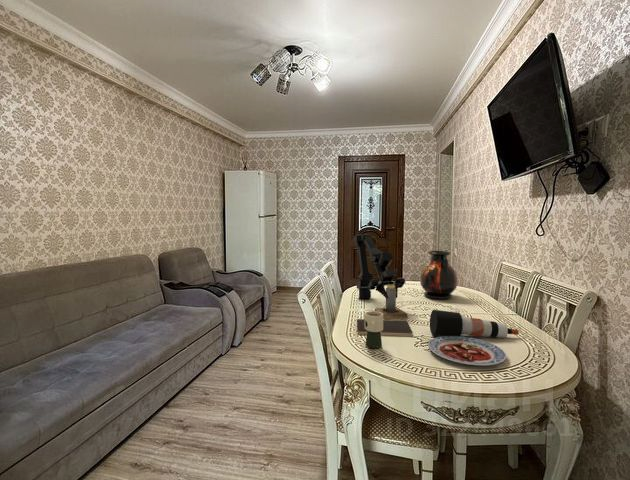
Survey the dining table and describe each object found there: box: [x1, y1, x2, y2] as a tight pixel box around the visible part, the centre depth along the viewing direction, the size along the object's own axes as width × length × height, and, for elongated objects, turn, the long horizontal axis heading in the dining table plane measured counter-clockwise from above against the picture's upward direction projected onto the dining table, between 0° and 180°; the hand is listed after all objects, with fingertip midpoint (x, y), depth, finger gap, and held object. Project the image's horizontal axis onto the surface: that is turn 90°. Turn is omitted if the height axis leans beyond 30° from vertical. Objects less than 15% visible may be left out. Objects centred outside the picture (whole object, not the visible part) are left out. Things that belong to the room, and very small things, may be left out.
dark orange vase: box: [419, 250, 459, 301], centre depth 203 cm, size 22×22×28 cm
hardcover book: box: [356, 318, 414, 337], centre depth 148 cm, size 16×23×2 cm
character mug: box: [364, 310, 384, 349], centre depth 128 cm, size 11×7×13 cm, turn 168°
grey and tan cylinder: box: [385, 284, 397, 313], centre depth 168 cm, size 5×5×13 cm
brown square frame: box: [374, 306, 408, 320], centre depth 169 cm, size 12×12×2 cm
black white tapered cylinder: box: [429, 309, 519, 339], centre depth 138 cm, size 10×34×10 cm, turn 83°
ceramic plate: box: [428, 335, 507, 367], centre depth 122 cm, size 26×26×3 cm
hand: (392, 297), depth 167 cm, fingers closed on grey and tan cylinder, 5 cm apart
